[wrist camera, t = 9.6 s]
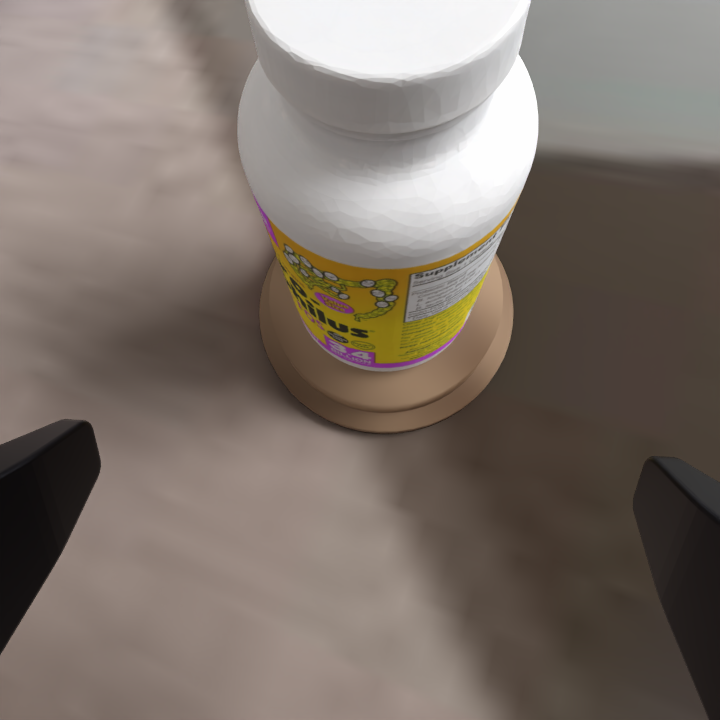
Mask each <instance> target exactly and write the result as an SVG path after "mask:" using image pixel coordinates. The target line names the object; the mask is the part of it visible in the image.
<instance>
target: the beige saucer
mask: <svg viewBox="0 0 720 720" xmlns="http://www.w3.org/2000/svg"><path fill="white" fill-rule="evenodd" d="M259 321H260V331H261V336H262V340H263V344H264V348H265V350H266V353H267V355H268V358H269V361H270V362H271V364H272V366H273V368H274V369H275V371H276V373H277V375H278V376H279V378H280V379H281V380H282V382H283V383H284V384H285V386H286V387H287V388H288V390H289V391H290V392H291V393H292V394H293V395H294V396H295V397H296V398H297V399H298V400H299V401H300V402H301V403H302V404H304V405H305V406H306V407H308V408H309V409H310V410H311V411H313V412H314V413H316V414H318V415H319V416H321V417H323V418H325V419H326V420H328V421H330V422H333V423H335V424H338V425H340V426H343V427H346V428H350V429H354V430H358V431H362V432H370V433H379V434H380V433H402V432H409V431H415V430H418V429H422V428H425V427H429V426H432V425H434V424H436V423H439V422H441V421H443V420H446V419H447V418H449V417H451V416H452V415H454V414H456V413H457V412H459V411H461V410H462V409H463V408H464V407H466V406H467V405H468V404H469V403H471V402H472V401H473V400H474V399H475V398H476V397H477V396H478V395H479V394H480V393H481V392H482V391H483V390H484V388H485V387H486V386H487V384H488V383H489V382H490V380H491V379H492V377H493V376H494V374H495V373H496V372H497V370H498V368H499V366H500V364H501V362H502V360H503V358H504V356H505V354H506V351H507V348H508V345H509V342H510V337H511V332H512V327H513V301H512V293H511V289H510V285H509V281H508V278H507V275H506V273H505V270H504V268H503V265H502V264H501V262H500V260H499V258H498V257H497V255H496V253H495V255H494V258H493V260H492V262H491V265H490V267H489V270H488V273H487V275H486V277H485V280H484V282H483V284H482V287H481V289H480V292H479V294H478V297H477V299H476V301H475V304H474V306H473V308H472V311H471V313H470V315H469V317H468V319H467V321H466V323H465V325H464V327H463V328H462V330H461V331H460V333H459V334H458V336H457V337H456V338H455V339H454V340H453V342H452V343H451V344H450V345H449V346H448V347H447V348H445V349H444V350H443V351H442V352H440V353H439V354H438V355H437V356H435V357H434V358H432V359H430V360H429V361H427V362H425V363H423V364H420V365H418V366H415V367H412V368H408V369H404V370H398V371H384V372H382V371H370V370H364V369H360V368H357V367H354V366H351V365H348V364H346V363H344V362H342V361H340V360H338V359H336V358H335V357H333V356H332V355H330V354H329V353H328V352H326V351H325V350H324V349H323V348H322V347H321V346H320V345H319V344H318V343H317V342H316V341H315V340H314V339H313V338H312V336H311V335H310V334H309V332H308V331H307V329H306V327H305V325H304V323H303V321H302V319H301V317H300V315H299V312H298V310H297V308H296V305H295V303H294V300H293V297H292V295H291V292H290V290H289V287H288V284H287V282H286V279H285V277H284V274H283V271H282V268H281V266H280V263H279V261H278V259H277V256H275V258H274V260H273V262H272V264H271V266H270V268H269V270H268V272H267V275H266V278H265V281H264V283H263V287H262V292H261V297H260V307H259Z"/></svg>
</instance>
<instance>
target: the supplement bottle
mask: <svg viewBox="0 0 720 720" xmlns="http://www.w3.org/2000/svg"><path fill="white" fill-rule="evenodd" d="M530 3H531V0H245V5H246V9H247V13H248V17H249V21H250V25H251V29H252V33H253V38H254V42H255V46H256V50H257V54H258V60H257V61H256V63H255V64H254V66H253V68H252V70H251V72H250V74H249V76H248V79H247V81H246V84H245V87H244V90H243V93H242V97H241V101H240V105H239V113H238V131H237V133H238V146H239V152H240V157H241V162H242V165H243V168H244V171H245V174H246V177H247V179H248V182H249V185H250V187H251V190H252V193H253V195H254V198H255V200H256V203H257V205H258V208H259V210H260V213H261V215H262V218H263V221H264V223H265V226H266V229H267V231H268V234H269V237H270V240H271V242H272V245H273V248H274V250H275V253H276V256H277V259H278V261H279V263H280V266H281V268H282V271H283V274H284V277H285V279H286V282H287V284H288V287H289V290H290V292H291V295H292V297H293V300H294V303H295V305H296V308H297V310H298V312H299V315H300V317H301V319H302V321H303V323H304V325H305V327H306V329H307V331H308V332H309V334H310V335H311V336H312V338H313V339H314V340H315V341H316V342H317V343H318V344H319V345H320V346H321V347H322V348H323V349H324V350H325V351H326V352H328V353H329V354H330V355H332V356H333V357H335V358H336V359H338V360H340V361H342V362H344V363H346V364H348V365H351V366H354V367H357V368H360V369H364V370H370V371H382V372H384V371H398V370H404V369H408V368H412V367H415V366H418V365H420V364H423V363H425V362H427V361H429V360H430V359H432V358H434V357H435V356H437V355H438V354H439V353H440V352H442V351H443V350H444V349H445V348H447V347H448V346H449V345H450V344H451V343H452V342H453V340H454V339H455V338H456V337H457V336H458V334H459V333H460V331H461V330H462V328H463V327H464V325H465V323H466V321H467V319H468V317H469V315H470V313H471V311H472V308H473V306H474V304H475V301H476V299H477V297H478V294H479V292H480V289H481V287H482V284H483V282H484V280H485V277H486V275H487V273H488V270H489V267H490V265H491V262H492V260H493V258H494V255H495V253H496V250H497V248H498V246H499V243H500V241H501V238H502V236H503V234H504V231H505V229H506V226H507V224H508V222H509V219H510V217H511V215H512V212H513V210H514V208H515V205H516V203H517V201H518V199H519V196H520V194H521V192H522V189H523V187H524V184H525V182H526V179H527V176H528V174H529V171H530V169H531V166H532V162H533V159H534V155H535V151H536V145H537V138H538V110H537V101H536V96H535V92H534V88H533V85H532V82H531V79H530V77H529V74H528V72H527V69H526V67H525V65H524V63H523V61H522V59H521V58H520V56H519V55H518V53H519V50H520V46H521V42H522V37H523V32H524V27H525V22H526V18H527V14H528V10H529V7H530Z"/></svg>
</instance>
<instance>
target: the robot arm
mask: <svg viewBox="0 0 720 720" xmlns="http://www.w3.org/2000/svg"><path fill="white" fill-rule="evenodd" d="M100 468H101V460H100V455H99V451H98V447H97V443H96V439H95V435H94V431H93V428H92V425H91V424H90V423H89V422H87V421H85V420H71V419H63V420H60V421H57V422H55V423H52V424H50V425H47V426H45V427H43V428H40V429H38V430H35V431H33V432H30V433H28V434H26V435H23V436H21V437H18V438H16V439H14V440H11V441H9V442H6V443H4V444H1V445H0V655H1V653H2V651H3V650H4V648H5V646H6V645H7V643H8V641H9V640H10V638H11V637H12V635H13V633H14V632H15V630H16V628H17V627H18V625H19V623H20V622H21V620H22V618H23V617H24V615H25V613H26V612H27V610H28V609H29V607H30V605H31V604H32V602H33V600H34V599H35V597H36V595H37V594H38V592H39V590H40V589H41V587H42V585H43V584H44V582H45V581H46V579H47V577H48V576H49V574H50V572H51V571H52V569H53V567H54V565H55V564H56V562H57V560H58V559H59V557H60V555H61V553H62V551H63V549H64V547H65V545H66V543H67V541H68V539H69V537H70V535H71V533H72V531H73V529H74V527H75V525H76V522H77V520H78V518H79V516H80V514H81V512H82V510H83V508H84V506H85V503H86V501H87V499H88V497H89V495H90V493H91V491H92V489H93V487H94V484H95V482H96V480H97V478H98V476H99V473H100ZM633 511H634V515H635V518H636V522H637V525H638V529H639V532H640V535H641V539H642V542H643V546H644V549H645V553H646V556H647V560H648V563H649V566H650V570H651V573H652V577H653V580H654V584H655V587H656V590H657V593H658V596H659V599H660V602H661V605H662V608H663V610H664V613H665V615H666V618H667V620H668V623H669V625H670V627H671V630H672V632H673V635H674V637H675V640H676V642H677V644H678V647H679V649H680V652H681V654H682V656H683V659H684V661H685V664H686V666H687V668H688V671H689V673H690V676H691V678H692V681H693V683H694V685H695V688H696V690H697V693H698V695H699V697H700V700H701V702H702V705H703V707H704V709H705V712H706V714H707V717H708V719H709V720H720V483H719V482H718V481H716V480H714V479H713V478H711V477H709V476H708V475H706V474H704V473H702V472H701V471H699V470H697V469H696V468H694V467H692V466H691V465H689V464H687V463H686V462H684V461H682V460H681V459H678V458H675V457H660V456H651V457H649V458H648V459H647V460H646V461H645V463H644V466H643V469H642V472H641V475H640V478H639V481H638V484H637V487H636V491H635V494H634V498H633Z"/></svg>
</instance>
